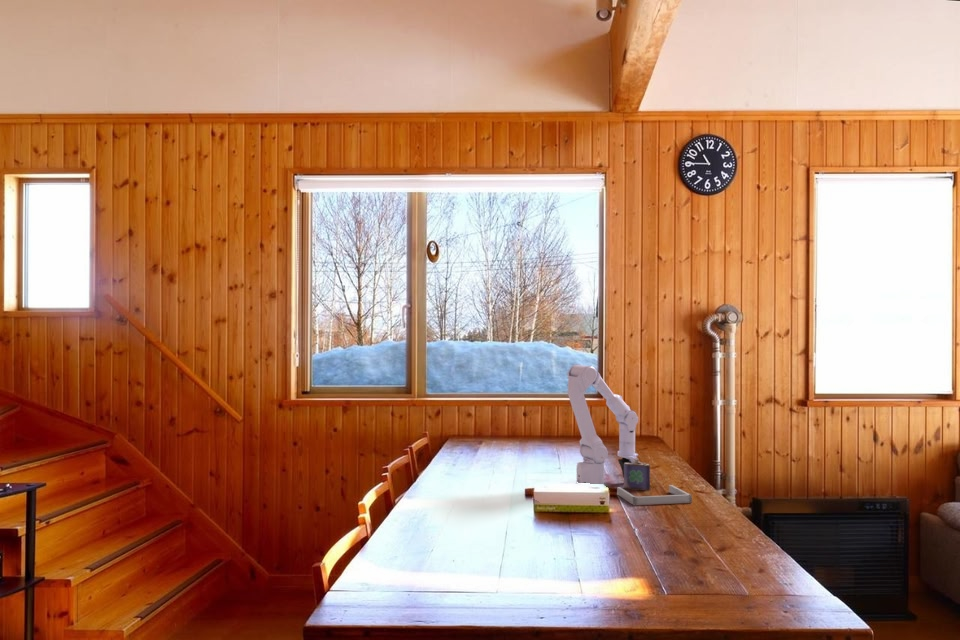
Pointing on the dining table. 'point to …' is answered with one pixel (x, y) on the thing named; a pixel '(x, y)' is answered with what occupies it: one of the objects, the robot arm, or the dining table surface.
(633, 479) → the flask
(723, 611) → the dining table surface
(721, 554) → the dining table surface
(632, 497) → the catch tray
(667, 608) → the dining table surface
